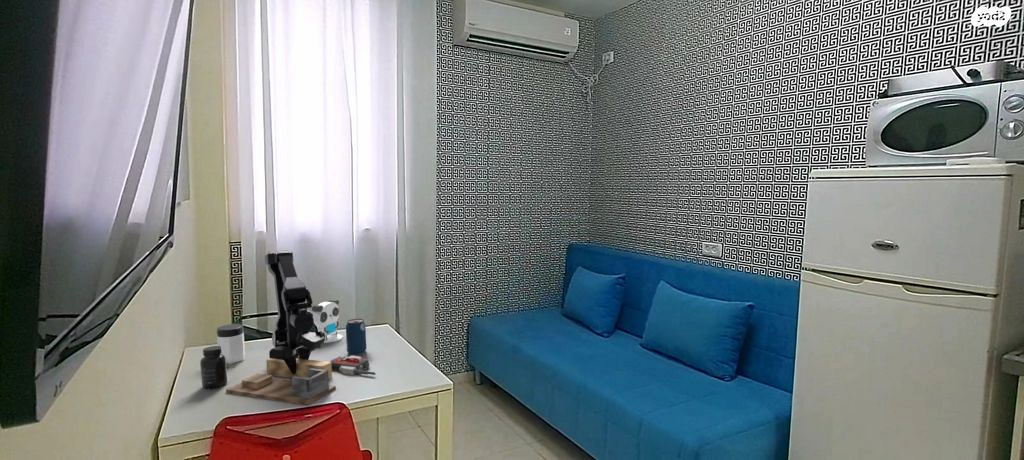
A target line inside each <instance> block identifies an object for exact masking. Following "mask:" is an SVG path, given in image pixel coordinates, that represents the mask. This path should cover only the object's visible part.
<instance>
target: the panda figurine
mask: <svg viewBox="0 0 1024 460" xmlns="http://www.w3.org/2000/svg"><path fill="white" fill-rule="evenodd" d="M339 304H340V301H339V299H329V300H328V301H323V302H320V303H319V304H312V307H311V310H312V312H313V314H312V317H313V319H314V324H313V325H315V326H316V327H317V332H318V331H320V330H322V331H324V333H325V341H324V343H323V344H328V343H334V342H338V341H341V340H342V339H343V338H342V337H343V335H342V334H339V333H338V327H339V321H338V320H339V318H340V317H339V316H340V309H339V306H338V305H339ZM340 339H341V340H340Z"/></svg>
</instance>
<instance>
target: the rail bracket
mask: <svg viewBox="0 0 1024 460" xmlns="http://www.w3.org/2000/svg"><path fill="white" fill-rule="evenodd" d="M329 379H330V378H329V375H328V370H322V369H314V368H311V369H309V378H305V377H298V376H294V377H291V379H288V378H280V377H274V375H268V374H267V373H266V374H264V373H255V374H253V375H250V376H248V377H246V378H244V379H242V380H241V382H239V383H238V384H235V385H233V386H230V387H229V388H228V387H227V388H225V392H226V393H227V394H234V395H240V396H244V397H245V396H246V397H250V398H251V397H252V398H259V399H264V400H271V401H277V402H283V403H290V404H297V405H302V406H303V405H304V406H310V405H312V404H313V403H315V402H317V401H318V400H320V399H322V398H323V397H325V396H327V395H328V394H330V393H332V392H334V391H335V390H336V389H337V388H336V386H335V385H331V384H330V381H329Z"/></svg>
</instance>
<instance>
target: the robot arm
mask: <svg viewBox="0 0 1024 460" xmlns="http://www.w3.org/2000/svg"><path fill="white" fill-rule="evenodd" d="M264 262H265V265H266V266H267V270H268V272H269V273H270V274H271V275H272V276H273V281H274V290H275V298H276V306H277V314H278V315H277V319H276V322H275V323H274V329H273V332H272V336H271V343H272V346H273V348H271V349H270V350H269V352H268V355H269V358H268V359H270V358H273V359H281V360H284V362H285V363H286V364H287V366H288V368H289V369H290V371H291V373H292V374H296V358H297V359H307V360H310V356H311V354H312V352H314V351H315V350H316V349H319V348H321V346H322V344H325V343H324V341H325V333H324V331H322V330H320V331H318V330H317V332H315V331H314V332H311V329H312V328H313V326H314V325H315V324H314V319H313V315H311V314H310V313H309V312H308V309H310V308H311V309H312V307H313V298H312V296H311V292H310V291H309V288H307V287H306V284H305V281H303V280H300V279H299V277H298V274H297V271H296V268H295V265H294V252H293V251H289V250H287V249H285V250H272V251H268V252H267V254H265V255H264Z"/></svg>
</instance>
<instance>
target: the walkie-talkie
mask: <svg viewBox="0 0 1024 460" xmlns="http://www.w3.org/2000/svg"><path fill="white" fill-rule="evenodd" d="M329 362H331V365H332V371H339V372H341V373H342V374H344V375H350V376H354V375H356V374H357V375H358V374H359V375H367V376H368V375H372V376H373V375H376V372H375V371H366V369H369V367H370V362H369V359H364V358H363V357H362V356H360V355H349V356H348V357H346V355H343V356H337V357H336V358H333V359H331V360H330V361H329Z"/></svg>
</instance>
